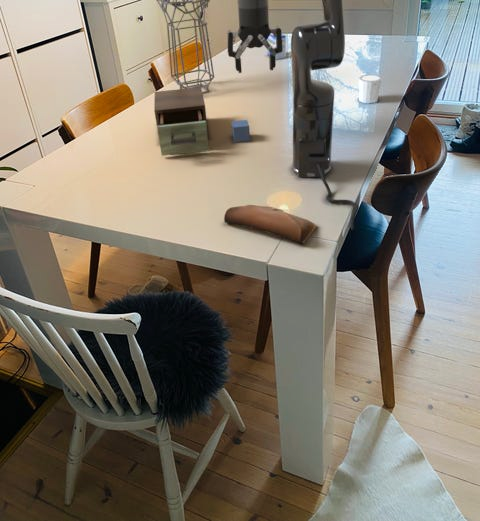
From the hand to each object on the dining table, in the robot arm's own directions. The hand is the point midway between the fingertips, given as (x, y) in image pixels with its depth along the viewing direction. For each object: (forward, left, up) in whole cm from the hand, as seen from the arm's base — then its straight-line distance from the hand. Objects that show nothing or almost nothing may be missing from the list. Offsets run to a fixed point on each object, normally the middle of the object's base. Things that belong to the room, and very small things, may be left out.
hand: (255, 70), depth 135 cm
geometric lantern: (+36, +26, -17) cm, 48 cm away
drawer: (-12, +19, -16) cm, 28 cm away
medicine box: (+76, 0, -17) cm, 78 cm away
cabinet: (0, +22, -17) cm, 28 cm away
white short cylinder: (+24, -33, -17) cm, 44 cm away
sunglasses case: (-50, -8, -17) cm, 53 cm away
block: (-5, +4, -17) cm, 18 cm away
